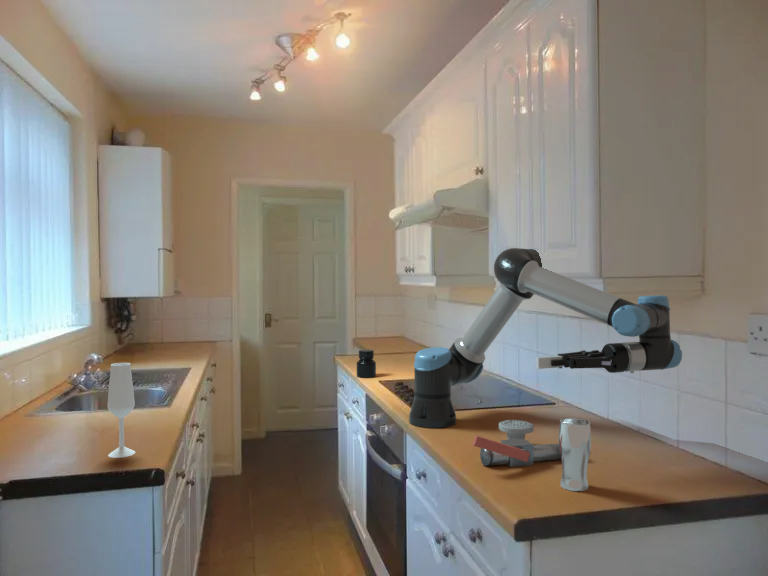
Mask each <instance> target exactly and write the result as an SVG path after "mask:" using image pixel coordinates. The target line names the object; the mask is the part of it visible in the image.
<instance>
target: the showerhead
mask: <svg viewBox="0 0 768 576" xmlns="http://www.w3.org/2000/svg"><path fill="white" fill-rule="evenodd" d="M534 426H535V425H534V423H531V422H530V421H527V420H519V419H505V420H502V421H499V422H498V429H499V431H501V432H503V433H506V440H513V439H525V440H526V435H528V434H530V433H531V434H532V433H533V432H534Z"/></svg>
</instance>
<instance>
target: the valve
mask: <svg viewBox="0 0 768 576" xmlns="http://www.w3.org/2000/svg"><path fill="white" fill-rule="evenodd" d="M500 443H503V444H506V445H509V446H513V447H516V448H519V449H522V448H524V449H526V450H528V451H529V452H530V454H531V457H530V459H529V460H528V461H527V462H522V461H521V460H519V459H516V458H513V457H509V456H506V455H503V454H499V453H496V452H493V451H489V450H486V449H483V448H480V452H479V455H480V456H479V457H480V461H481V464H482V465H483V466H485V467H488V466H498V465H507V466H509V468H512V467H513V468H514V467H515V468H516V467H523V466H525V465H526V466H533V465H534V462H535V463H536V462H544V461H546V462H547V461H556V460H558V461H559V460H561V455H560V449H559V442H558V443H546V444H535V445H534V443H532V442H531V441H528V440H526V438H525V439H513V440H507V439H505V440H503V439H502V440H501V441H500Z"/></svg>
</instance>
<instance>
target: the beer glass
mask: <svg viewBox="0 0 768 576" xmlns="http://www.w3.org/2000/svg"><path fill="white" fill-rule="evenodd" d="M591 431H592V430H591V421H590V420H588V419H584V418H580V417H564V418H560V419H559V427H558V443H559V449H560V455H561V459H560V460H561V469H562V471H561V478H560V479H561V480H560V483H559V484H560V487H561V488H563V489H564V490H566V489H567V490H566V491H570V492H577V491H580V492H586V491H588V490H589V483H588V465H589V459H590V455H591V447H592V433H591ZM585 490H586V491H585Z"/></svg>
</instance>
